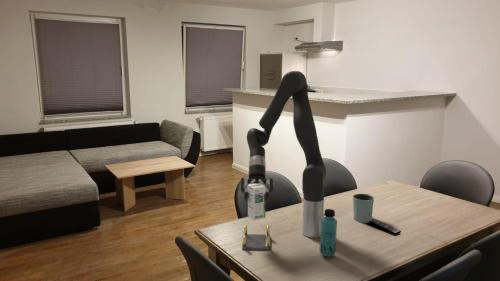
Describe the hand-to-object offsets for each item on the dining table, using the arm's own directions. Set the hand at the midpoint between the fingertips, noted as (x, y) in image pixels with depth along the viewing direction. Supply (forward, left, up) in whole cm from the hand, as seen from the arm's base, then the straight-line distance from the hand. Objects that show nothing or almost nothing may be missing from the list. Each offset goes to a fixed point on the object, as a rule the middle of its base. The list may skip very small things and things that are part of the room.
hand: (256, 201), depth 157 cm
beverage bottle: (-31, -1, -20) cm, 37 cm away
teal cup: (-41, -44, -20) cm, 63 cm away
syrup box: (+1, -1, -8) cm, 8 cm away
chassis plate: (0, -1, -20) cm, 20 cm away
